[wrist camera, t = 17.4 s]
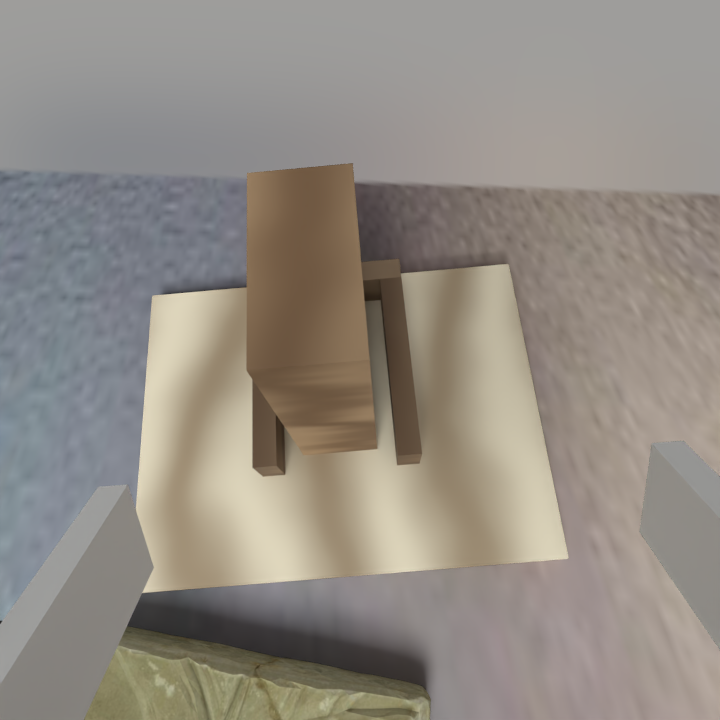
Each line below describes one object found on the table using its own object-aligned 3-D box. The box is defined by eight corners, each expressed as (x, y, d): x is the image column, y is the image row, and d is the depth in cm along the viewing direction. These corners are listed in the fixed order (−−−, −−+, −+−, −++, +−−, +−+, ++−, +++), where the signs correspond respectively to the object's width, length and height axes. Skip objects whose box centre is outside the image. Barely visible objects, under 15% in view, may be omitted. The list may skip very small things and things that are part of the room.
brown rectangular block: (365, 316, 33) (352, 163, 21) (377, 449, 30) (369, 359, 18) (298, 322, 33) (247, 173, 21) (303, 455, 30) (246, 370, 18)
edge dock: (504, 273, 35) (517, 240, 31) (561, 559, 28) (585, 556, 25) (159, 304, 35) (135, 274, 32) (139, 593, 29) (105, 594, 25)
